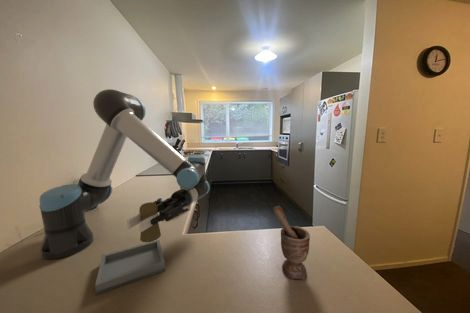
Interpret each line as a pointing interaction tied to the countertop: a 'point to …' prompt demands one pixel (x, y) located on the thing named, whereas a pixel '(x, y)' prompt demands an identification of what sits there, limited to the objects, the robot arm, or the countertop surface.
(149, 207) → the cork
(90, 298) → the countertop surface
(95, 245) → the countertop surface
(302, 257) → the mortar and pestle
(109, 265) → the tray
